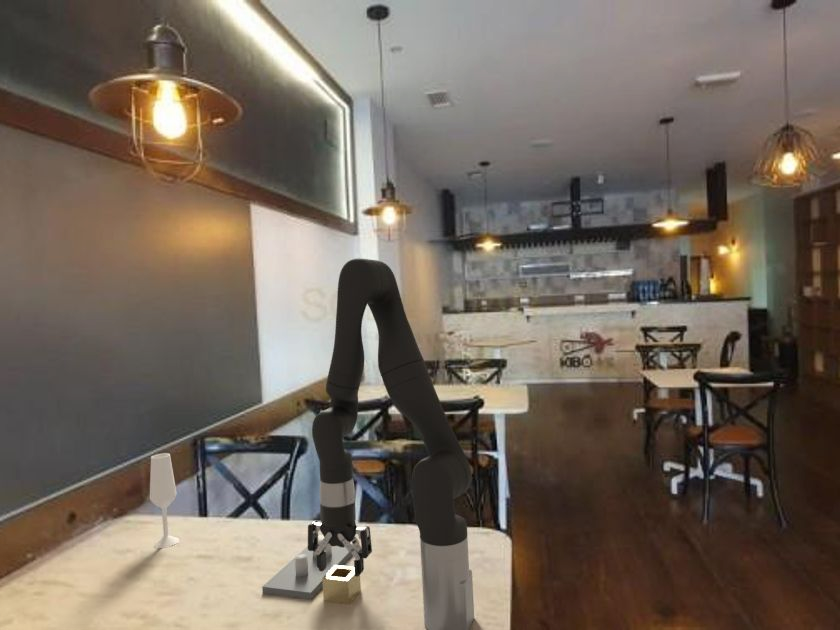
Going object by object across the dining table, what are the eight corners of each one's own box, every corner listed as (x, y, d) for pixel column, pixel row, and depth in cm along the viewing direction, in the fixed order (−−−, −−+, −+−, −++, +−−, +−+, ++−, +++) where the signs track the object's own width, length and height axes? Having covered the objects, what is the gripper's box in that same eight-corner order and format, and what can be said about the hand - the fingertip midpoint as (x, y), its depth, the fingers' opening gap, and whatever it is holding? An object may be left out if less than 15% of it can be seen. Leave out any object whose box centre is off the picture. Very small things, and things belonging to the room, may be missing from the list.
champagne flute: (184, 537, 160) (178, 452, 159) (170, 548, 153) (164, 459, 152) (162, 537, 161) (156, 452, 160) (147, 547, 154) (141, 459, 153)
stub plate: (356, 550, 146) (355, 528, 146) (311, 599, 123) (309, 574, 123) (314, 546, 150) (313, 525, 150) (262, 593, 127) (261, 568, 127)
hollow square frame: (360, 589, 126) (359, 567, 126) (349, 604, 121) (348, 581, 120) (336, 586, 128) (334, 564, 128) (323, 601, 122) (322, 578, 122)
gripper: (299, 502, 123) (302, 576, 123) (360, 508, 118) (363, 585, 119) (316, 490, 130) (319, 560, 131) (374, 495, 125) (377, 568, 126)
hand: (340, 572), depth 125 cm, fingers open, 8 cm apart
